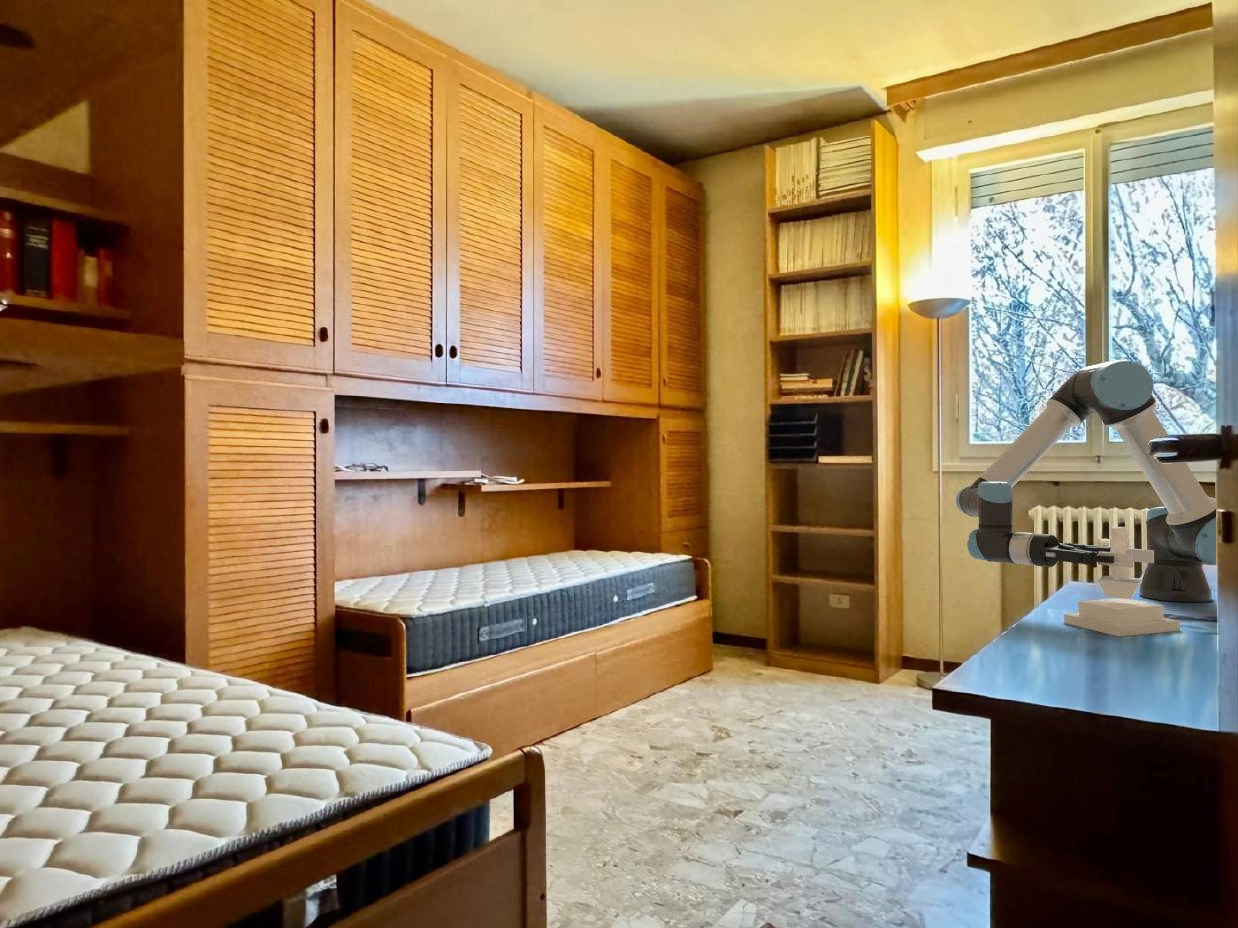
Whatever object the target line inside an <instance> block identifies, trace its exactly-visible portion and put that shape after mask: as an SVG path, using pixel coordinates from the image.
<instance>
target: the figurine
mask: <svg viewBox="0 0 1238 928" xmlns="http://www.w3.org/2000/svg"><path fill="white" fill-rule="evenodd" d="M1110 533H1111V537H1112V539H1111V543H1112V544H1111V550H1110V552H1112V553H1124V554H1127V551H1128V548H1130V547H1129V529H1128V526H1112V527H1110ZM1110 568H1111V569H1112V576H1111V575H1103V576H1101V577H1100V578H1098V579H1097V582H1098V583H1099V586H1100V588H1101V589H1102V591H1103V592H1104V595H1105V596H1106V598H1125V599H1132V598H1133V597H1134V595H1135V593H1136V591H1137V589H1139V586H1140V584H1141V583H1142V579H1143V578H1139V577H1138V578H1136V577H1128V567H1120V566H1110Z"/></svg>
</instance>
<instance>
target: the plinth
mask: <svg viewBox="0 0 1238 928" xmlns="http://www.w3.org/2000/svg"><path fill="white" fill-rule="evenodd" d="M1164 611H1165V607H1164V605H1162V604H1158V603H1152V602H1146V601H1141V600H1136V599H1132V598H1131V599H1125V598H1114V597H1112V598H1101V599H1091V600H1089V599H1088V600H1080V601H1078V612H1073V613H1064V614H1063V623H1064V624H1066V625H1070V626H1075V627H1079V628H1083V629H1087V630H1090V631H1095V632H1100V633H1103V634H1107V635H1112V636H1115V637H1127V636H1137V635H1147V634H1158V633H1168V632H1179V631H1181V620H1177V619H1172V618H1168V617H1165V612H1164Z"/></svg>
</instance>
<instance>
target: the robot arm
mask: <svg viewBox="0 0 1238 928" xmlns="http://www.w3.org/2000/svg"><path fill="white" fill-rule="evenodd" d="M1153 388H1154V381H1153V377H1152V375H1151V374H1150V372H1149V370H1148V369H1147V368H1146V367H1144V366H1143V365H1142V364H1140V363H1138V362H1137V361H1134V360H1133V361H1132V360H1128V359H1115V360H1109V361H1106V362H1103V363H1098V364H1094V365H1088V366H1085V367H1082V368H1081V369H1079V370H1077V371H1076V372H1074V374H1073V375H1071V376H1070V377H1068V379H1067V380H1065V382H1064V383H1063V384H1062V385H1061V386H1060V387H1059V388H1058V389H1057V390H1056V391H1055V393H1054V394H1053V395H1051V397H1050V398H1049V399H1048V400H1047V401H1046V408H1045V409H1044V410H1043V411H1041V413H1040V414H1038V416H1037V417H1036V418H1035V419H1034V420H1033V421H1032V422H1031V423H1030V424H1029V425H1028V426H1027V427H1026V428H1025V429H1024V430H1023V432H1021V434H1020V435H1019V436H1017V438H1016V439H1015V440H1014V441H1013V442H1012V443H1011V444H1010V445H1009V446H1008V447H1007V448H1006V449H1005V450H1004V451H1003V452H1002V453H1001V454H1000V455H999V456H998V457H997V459H995V460H994V462H992V464H990V466H989V467H988V468H987V469H985V471H984V472H983V473H982V474H981V475H979V477H978V478H977V479H975V481H974V482H973V483H972V484H971V485H969V486H967V487H964V488H962V489H961V490H959V491H958V493H957V495H956V498H955V504H956V507H957V508H958V510H959V511H960V512H961V513H963V514H965V515H967V516H969V517H972V518H973V517H975V518H976V517H977V518H978V526H977V527H978V528H977V529H974V530H971V532H970V533H969V535H968V540H967V541H966V542H967V544H966V545H967V546H966V547H967V551H968V553H969V555H970V556H971V557H972V558H973V559H976V560H980V561H987V562H991V563H992V562H993V563H1006V564H1015V565H1017V564H1018V565H1020V567H1022V568H1025V567H1026V566H1035V567H1042V568H1043V567H1045V568H1052V567H1054V566H1056V564H1058V562H1061V563H1062V562H1064V563H1071V564H1080V565H1085V566H1088V565H1091V566H1090V568H1096V569H1097V567H1098V565H1101V566H1110V567H1111V566H1120V567H1127V568H1134V562H1136V563H1145V564H1146V568H1145V571H1144V573H1143V576H1142V578H1141V579H1142V580H1141V582H1140V584H1139V586H1138V589H1139V591H1138V592H1139V595H1140V597H1143V598H1148V599H1153V600H1157V601H1158V600H1159V601H1165V602H1166V601H1167V602H1181V603H1199V602H1201V603H1202V602H1209V601H1211V600H1212V598H1213V595H1212V589H1211V587H1210V585H1209V582H1208V579H1207V577H1206V574H1205V571H1204V569H1203V568H1204V567H1203V566H1204V565H1203V563H1204V564H1206V565H1210V566H1212V565H1213V566H1214V565H1215V566H1216V499H1217V498H1214V497H1210V496H1208V494H1206V492H1205V491H1204V488H1203V487H1202V485H1201V484H1200V482H1199V480H1198V479H1197V478H1196V476H1195V475H1194V473H1193V472H1192V469H1191V468H1190V467H1189V465H1188V464H1187V462H1186V463H1172V464H1162V463H1160V462H1158V461H1157V460H1156V459H1154V457H1151V456H1150V455H1149V453H1148V443H1149V441H1150V440H1153V439H1155V438H1159V437H1164V436H1169V437H1170V435H1169V433H1168V432H1167V430H1166V429H1165V427H1164V426H1163V424H1162V423H1161V421H1160V419H1159V418H1158V416H1157V415H1156V413H1155V411H1154V408H1155V407H1156V403H1157V401H1156V399H1155V397H1154V396H1153ZM1096 413H1097V415H1098V416H1099V419H1100V420H1101V422H1102V423H1103V424H1104V426H1106V427H1109V428H1113V429H1115V430H1116V431H1117V433H1118V435H1119V437H1120V438H1121V439H1122V441H1123V443H1124V445H1125V446H1126V447H1127V448H1128V451H1129V452H1130V454H1131V455H1132V457H1133V459H1134V461H1135V462H1136V463H1137V464H1138V466H1139V468H1140V470H1141V471H1142V473H1143V474H1144V476H1145V477H1146V479H1147V480H1148V482H1149V483H1150V485H1151V487H1152V488H1153V489H1154V491H1155V494H1156V495H1157V496H1158V498H1159V499H1160V501H1161V503H1162V504H1163V506H1157V507H1151V508H1149V509H1148V510H1147V511H1146V512H1147V513H1146V518H1145V526H1146V529H1145V530H1146V549H1141V548H1139V549H1138V548H1130V547H1129V548H1128V551H1127V554H1124V553H1112V552H1110V550H1111V547H1112V545H1110V546H1109V545H1107V546H1106V545H1089V544H1083V543H1082V544H1079V543H1072V542H1063V543H1060V542H1059V540H1058V538H1057V536H1055V535H1054V534H1050V533H1048V534H1047V533H1035V532H1025V531H1024V532H1023V531H1013V499H1014V495H1013V487H1014V486H1015V485H1016V484H1017V483H1018V482H1019V480H1020V481H1021V479H1022V478H1023V477H1024V476H1025V475H1026V474H1027V473H1028V472H1029V471H1030V470H1031V469H1032V468H1033V467H1034V466H1035V465H1036V464H1037V463H1038V462H1039V460H1040V459H1042V457H1044V455H1046V453H1048V451H1049V450H1050V449H1052V448H1053V446H1055V444H1056V443H1057V442H1058V441H1059V440H1060V439H1061V438H1062V437H1064V435H1065V434H1066V433H1067V432H1068V431H1069V430H1070V429H1071V428H1072V427H1078V426H1080V425H1081V424H1082V423H1083V422H1084V421H1085V420H1087V419H1088V418H1089V417H1091V416H1092V415H1094V414H1096Z"/></svg>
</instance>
